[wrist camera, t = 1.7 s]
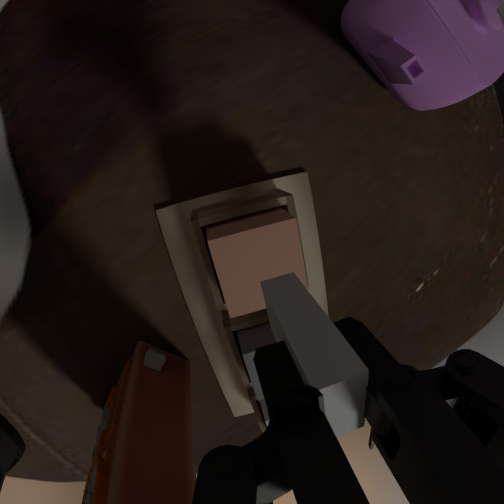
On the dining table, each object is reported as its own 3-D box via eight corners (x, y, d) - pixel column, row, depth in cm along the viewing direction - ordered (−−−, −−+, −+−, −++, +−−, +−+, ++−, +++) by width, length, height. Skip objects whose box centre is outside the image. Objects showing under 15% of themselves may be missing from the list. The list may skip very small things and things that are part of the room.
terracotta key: (224, 289, 21) (230, 318, 17) (205, 224, 19) (207, 241, 15) (290, 271, 21) (308, 295, 18) (277, 205, 20) (296, 217, 16)
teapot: (397, -26, 16) (468, -65, 4) (461, 58, 21) (544, 48, 9) (278, 44, 18) (351, -39, 7) (374, 154, 23) (491, 167, 11)
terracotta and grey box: (98, 412, 27) (137, 325, 24) (151, 432, 29) (205, 355, 26) (73, 570, 7) (94, 572, 4) (152, 588, 9) (237, 585, 6)
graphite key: (249, 368, 24) (257, 400, 20) (234, 323, 22) (242, 354, 18) (304, 351, 24) (320, 381, 20) (296, 304, 22) (314, 332, 19)
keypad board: (234, 414, 29) (239, 444, 25) (156, 209, 21) (146, 222, 17) (332, 384, 31) (347, 410, 26) (305, 171, 22) (329, 175, 18)
